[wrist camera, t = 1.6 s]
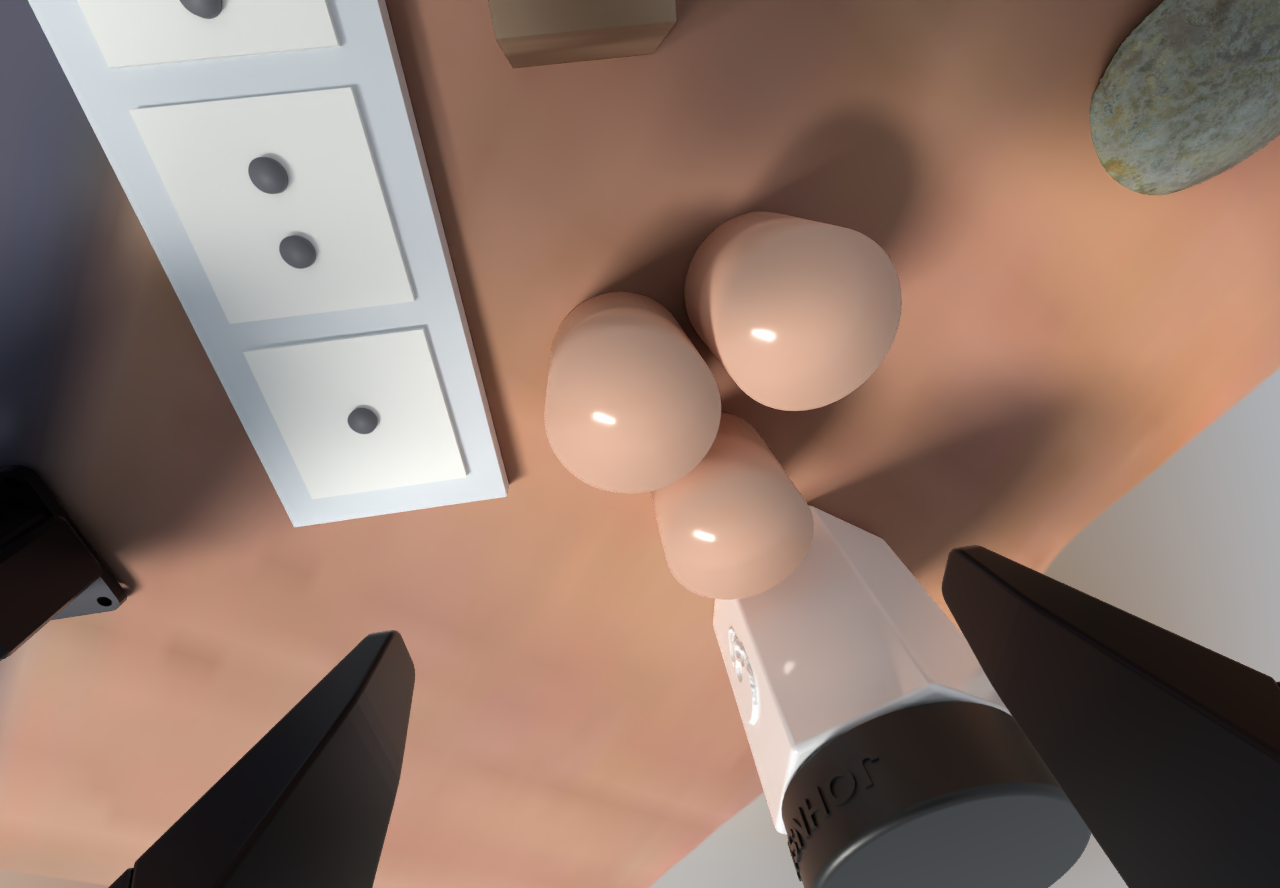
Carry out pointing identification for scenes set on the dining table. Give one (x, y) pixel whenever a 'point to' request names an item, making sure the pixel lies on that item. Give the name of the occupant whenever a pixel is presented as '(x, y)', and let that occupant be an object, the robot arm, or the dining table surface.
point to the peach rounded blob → (793, 307)
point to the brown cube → (579, 29)
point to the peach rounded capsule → (628, 395)
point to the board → (295, 237)
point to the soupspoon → (1189, 94)
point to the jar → (886, 731)
